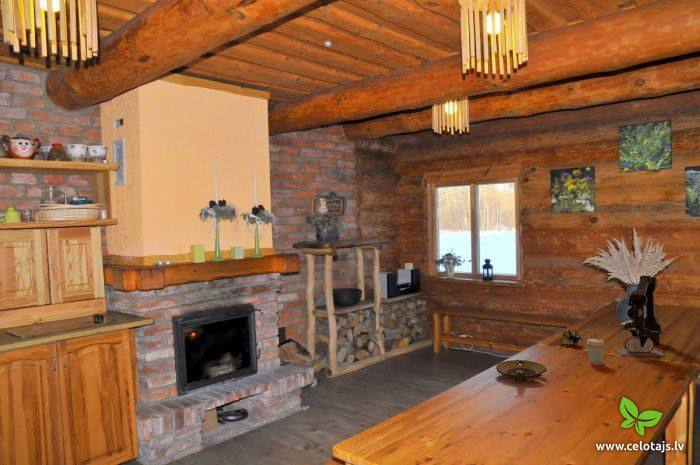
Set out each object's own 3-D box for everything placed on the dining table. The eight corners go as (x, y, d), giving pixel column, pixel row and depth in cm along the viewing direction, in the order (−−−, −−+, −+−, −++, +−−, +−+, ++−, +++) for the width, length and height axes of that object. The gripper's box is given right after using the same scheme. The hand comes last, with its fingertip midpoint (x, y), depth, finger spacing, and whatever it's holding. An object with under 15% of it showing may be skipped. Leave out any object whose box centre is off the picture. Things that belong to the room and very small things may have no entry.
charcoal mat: (655, 350, 287) (655, 349, 287) (665, 356, 275) (665, 355, 275) (613, 350, 290) (613, 349, 290) (621, 355, 279) (621, 354, 279)
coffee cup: (607, 366, 259) (607, 342, 259) (588, 365, 261) (588, 341, 261) (602, 361, 268) (602, 338, 268) (584, 361, 269) (584, 338, 269)
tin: (652, 351, 283) (652, 336, 283) (655, 353, 280) (655, 337, 280) (623, 351, 285) (623, 336, 285) (625, 352, 282) (625, 337, 282)
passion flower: (574, 353, 306) (587, 338, 303) (567, 353, 299) (580, 337, 295) (559, 340, 314) (571, 325, 310) (551, 340, 306) (564, 324, 302)
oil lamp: (554, 375, 246) (554, 359, 246) (529, 391, 224) (529, 374, 224) (509, 367, 261) (509, 352, 261) (481, 382, 238) (481, 365, 238)
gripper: (616, 313, 293) (616, 340, 293) (629, 319, 274) (629, 348, 275) (637, 313, 291) (637, 340, 292) (651, 319, 273) (652, 348, 273)
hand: (638, 344), depth 283 cm, fingers open, 9 cm apart
